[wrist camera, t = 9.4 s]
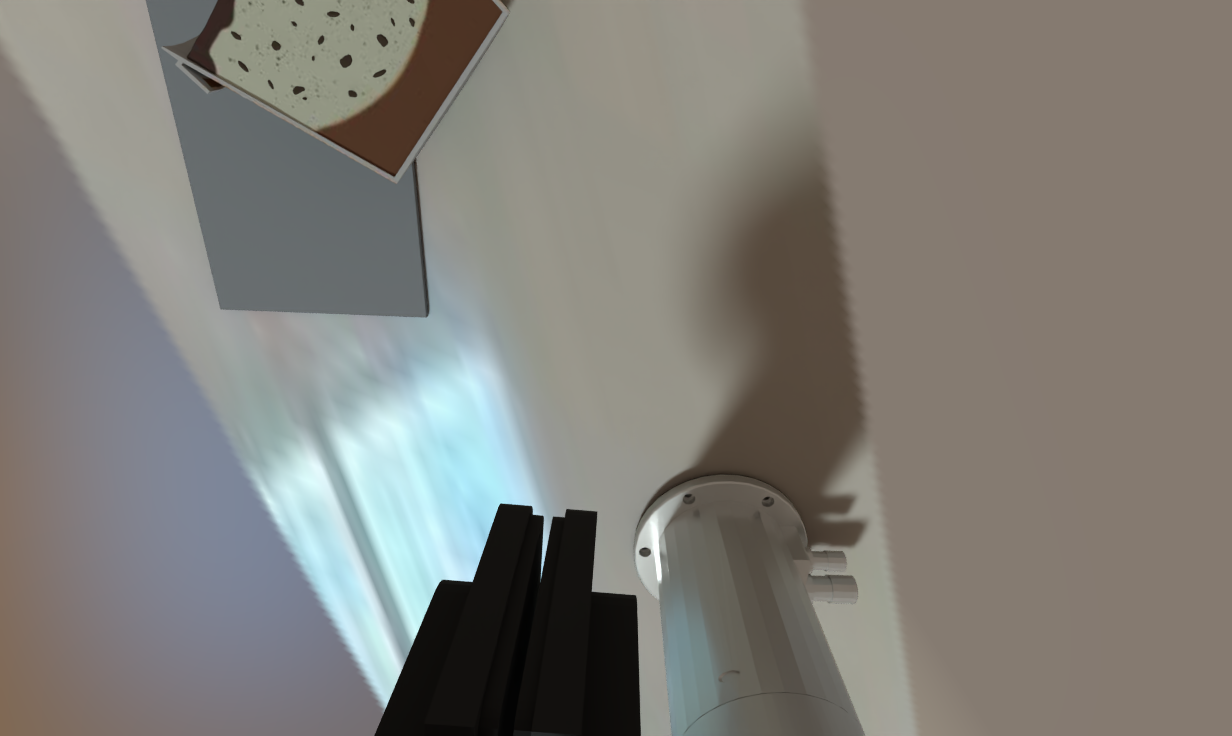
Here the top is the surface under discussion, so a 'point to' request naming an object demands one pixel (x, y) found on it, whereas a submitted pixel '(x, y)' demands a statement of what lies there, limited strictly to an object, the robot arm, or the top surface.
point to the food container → (347, 66)
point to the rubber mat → (287, 202)
